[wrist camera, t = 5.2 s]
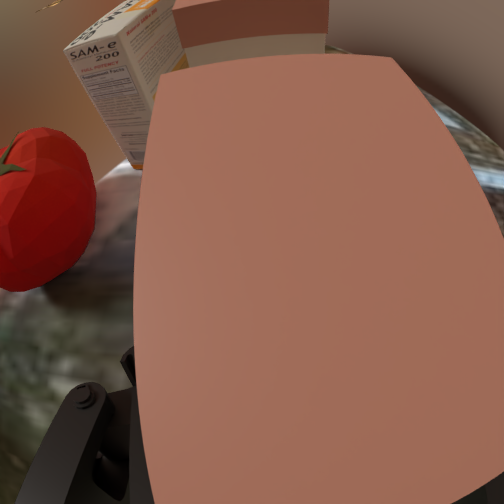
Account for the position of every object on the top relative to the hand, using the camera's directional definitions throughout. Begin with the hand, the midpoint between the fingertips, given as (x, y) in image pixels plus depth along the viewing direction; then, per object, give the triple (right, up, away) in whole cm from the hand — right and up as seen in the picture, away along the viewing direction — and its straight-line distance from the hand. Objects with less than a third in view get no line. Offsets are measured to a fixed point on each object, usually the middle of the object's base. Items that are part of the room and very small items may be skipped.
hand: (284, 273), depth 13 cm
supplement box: (-9, +11, +12) cm, 18 cm away
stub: (+1, -4, +3) cm, 5 cm away
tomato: (-17, +2, +9) cm, 19 cm away
